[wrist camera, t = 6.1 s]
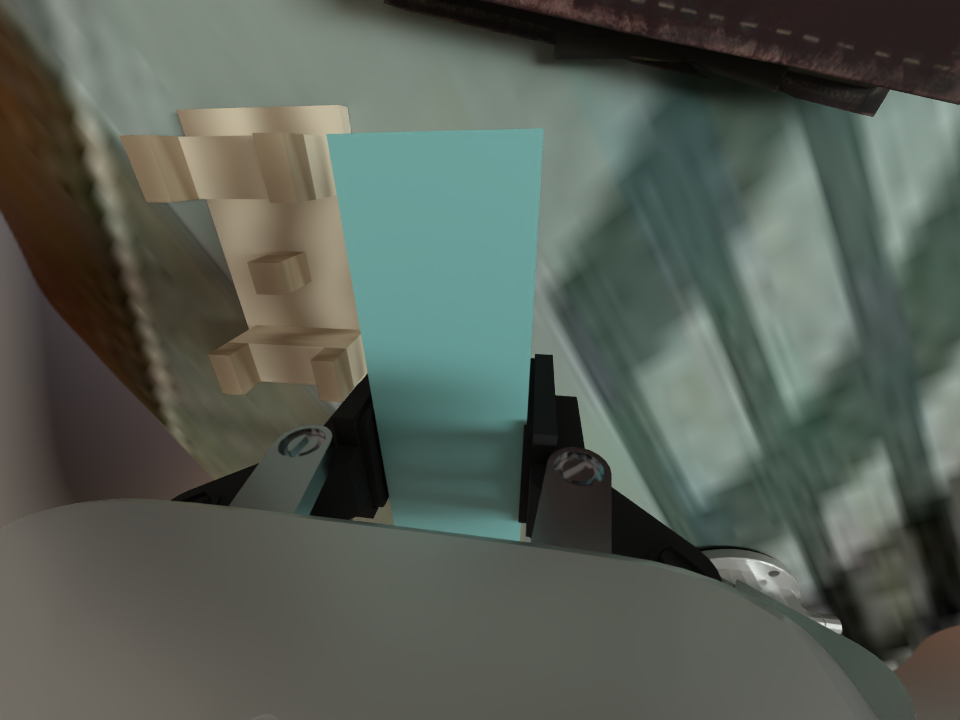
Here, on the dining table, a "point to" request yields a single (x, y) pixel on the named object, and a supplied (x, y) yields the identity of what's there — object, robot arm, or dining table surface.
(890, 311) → the dining table surface
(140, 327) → the dining table surface
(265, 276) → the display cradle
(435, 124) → the dining table surface
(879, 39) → the diary
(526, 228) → the teal rectangular block
